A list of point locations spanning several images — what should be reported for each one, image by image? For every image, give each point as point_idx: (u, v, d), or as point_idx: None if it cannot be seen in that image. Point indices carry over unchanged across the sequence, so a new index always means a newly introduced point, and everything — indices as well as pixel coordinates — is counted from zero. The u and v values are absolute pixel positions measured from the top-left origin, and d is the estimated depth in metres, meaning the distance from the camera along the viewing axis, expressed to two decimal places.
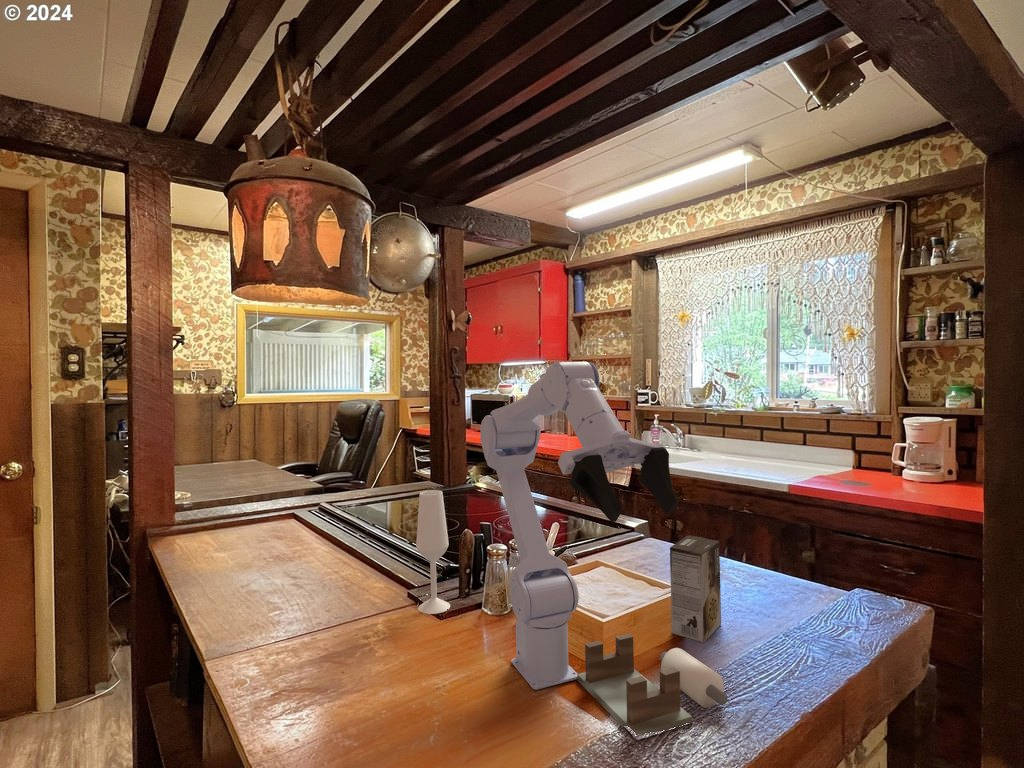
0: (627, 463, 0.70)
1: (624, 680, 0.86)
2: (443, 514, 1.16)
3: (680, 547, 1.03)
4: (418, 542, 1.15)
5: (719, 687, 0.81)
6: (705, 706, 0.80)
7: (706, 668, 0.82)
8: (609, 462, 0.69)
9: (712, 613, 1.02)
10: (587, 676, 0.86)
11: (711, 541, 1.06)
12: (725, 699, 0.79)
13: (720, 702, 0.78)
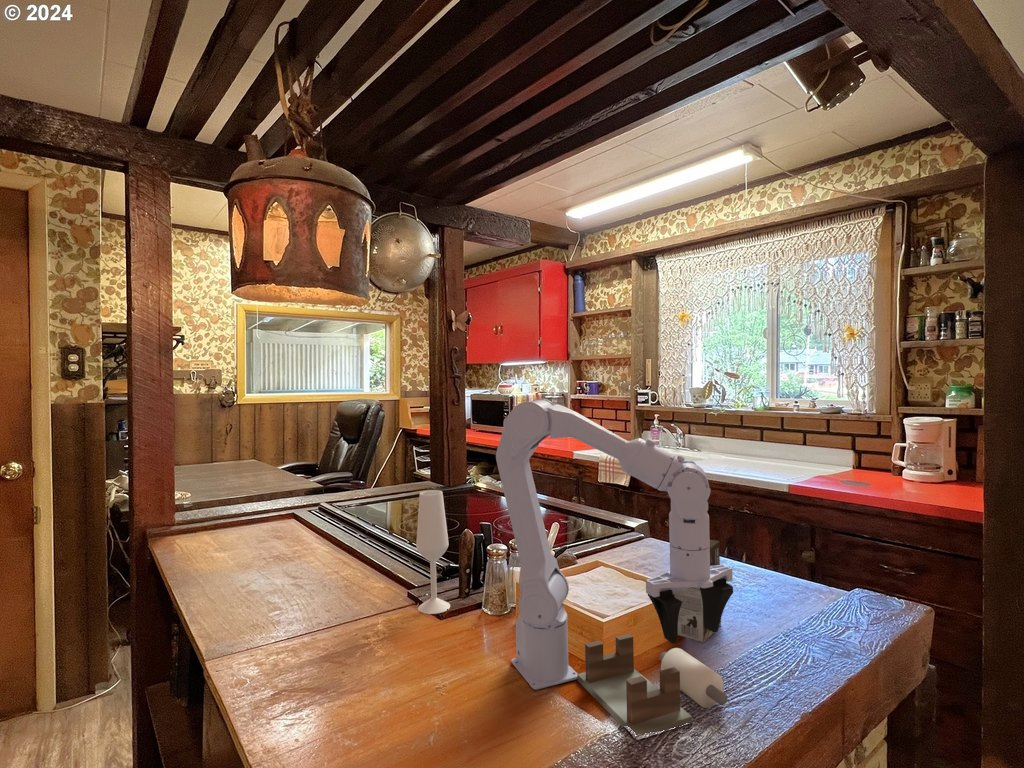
0: None
1: (624, 680, 0.86)
2: (443, 514, 1.16)
3: None
4: (418, 542, 1.15)
5: (719, 687, 0.81)
6: (705, 706, 0.80)
7: (706, 668, 0.82)
8: (685, 587, 0.83)
9: None
10: (587, 676, 0.86)
11: (711, 541, 1.06)
12: (725, 699, 0.79)
13: (720, 702, 0.78)
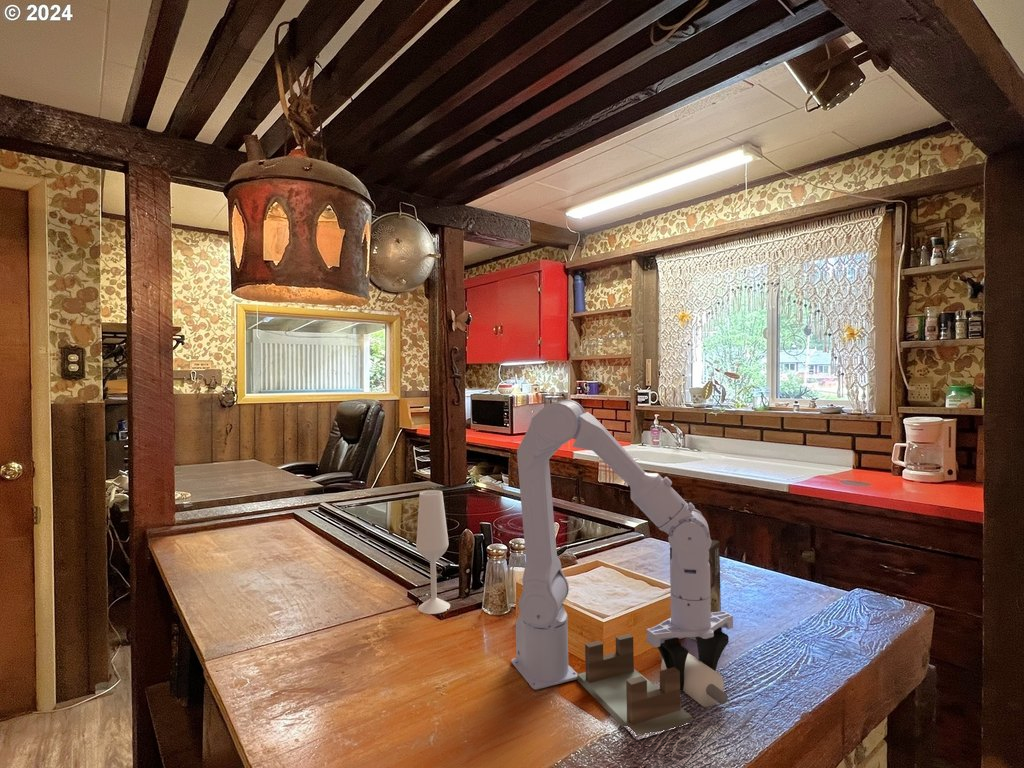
0: None
1: (624, 680, 0.86)
2: (443, 514, 1.16)
3: None
4: (418, 542, 1.15)
5: (719, 686, 0.81)
6: (705, 705, 0.81)
7: (706, 667, 0.82)
8: None
9: None
10: (587, 676, 0.86)
11: None
12: (725, 698, 0.79)
13: (720, 701, 0.78)
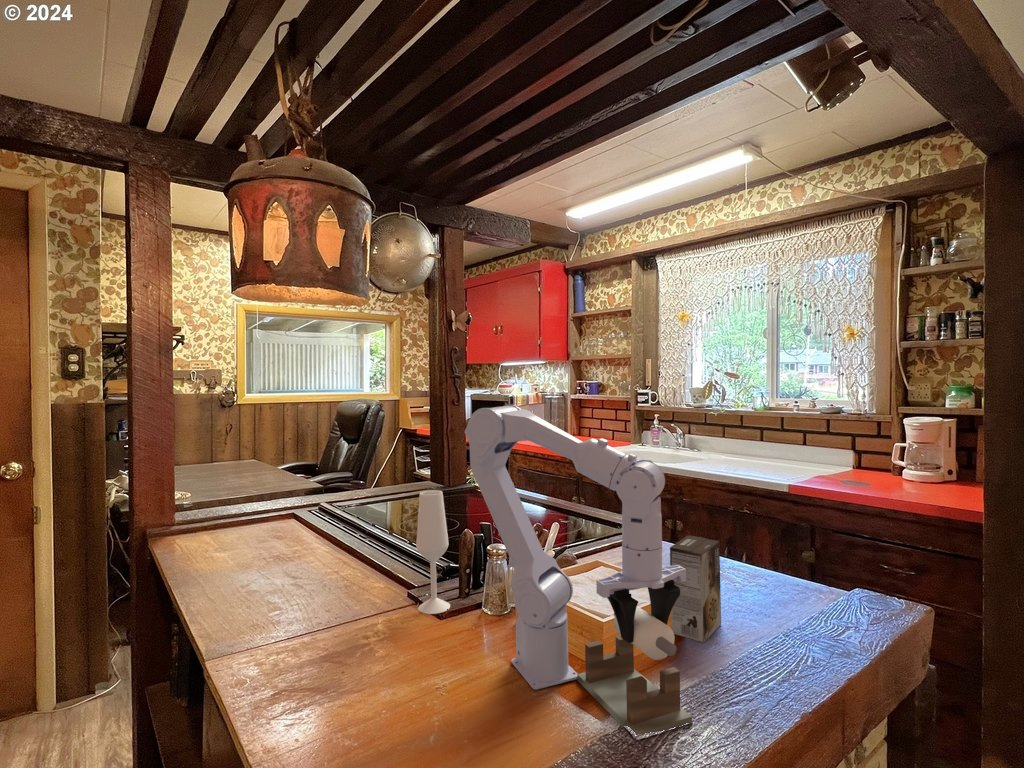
0: None
1: (624, 680, 0.86)
2: (443, 514, 1.16)
3: (680, 547, 1.03)
4: (418, 542, 1.15)
5: (669, 639, 0.80)
6: (655, 658, 0.79)
7: (656, 620, 0.81)
8: (637, 588, 0.82)
9: (712, 613, 1.02)
10: (587, 676, 0.86)
11: (711, 541, 1.06)
12: (674, 650, 0.77)
13: (669, 653, 0.77)
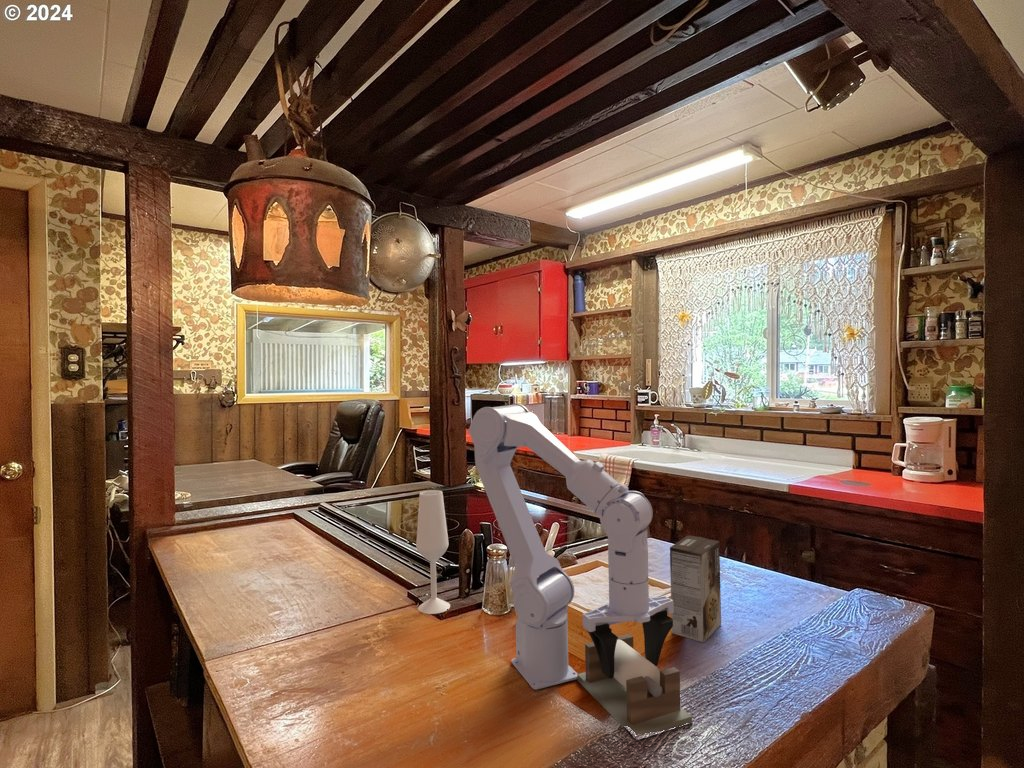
0: None
1: None
2: (443, 514, 1.16)
3: (680, 547, 1.03)
4: (418, 542, 1.15)
5: (656, 677, 0.80)
6: None
7: (641, 660, 0.80)
8: None
9: (712, 613, 1.02)
10: (587, 676, 0.86)
11: (711, 541, 1.06)
12: (660, 690, 0.77)
13: (655, 694, 0.77)
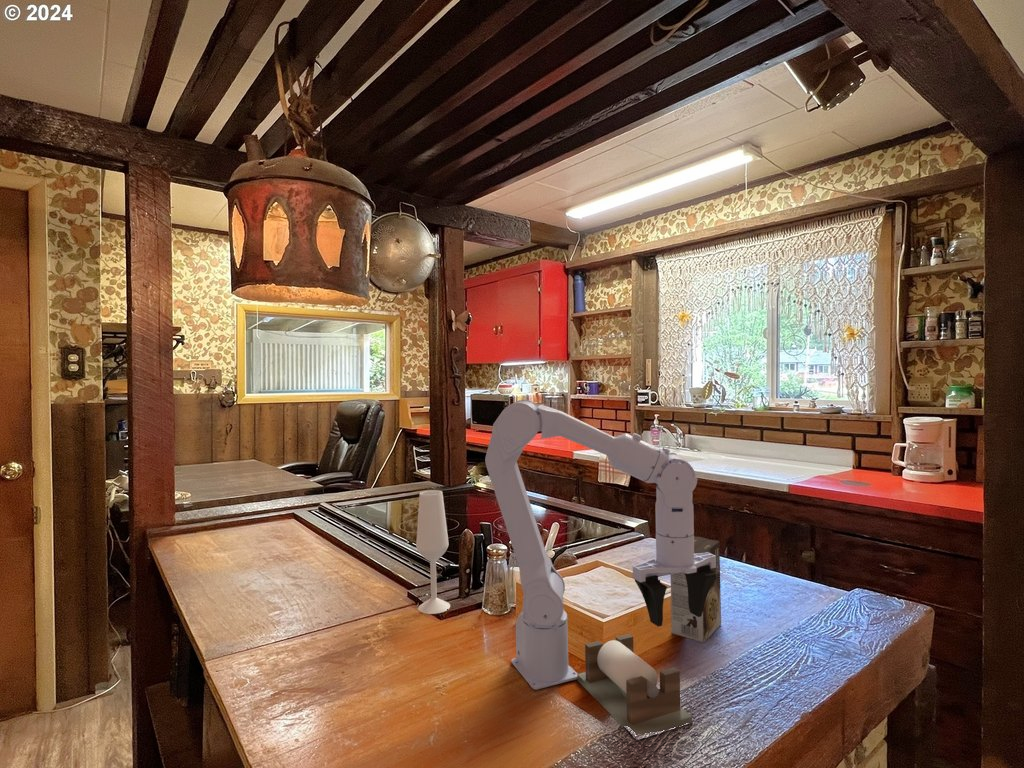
0: None
1: None
2: (443, 514, 1.16)
3: None
4: (418, 542, 1.15)
5: (648, 672, 0.79)
6: None
7: (627, 668, 0.79)
8: (670, 573, 0.87)
9: (712, 613, 1.02)
10: (587, 676, 0.86)
11: (711, 541, 1.06)
12: (655, 689, 0.77)
13: (653, 696, 0.76)
